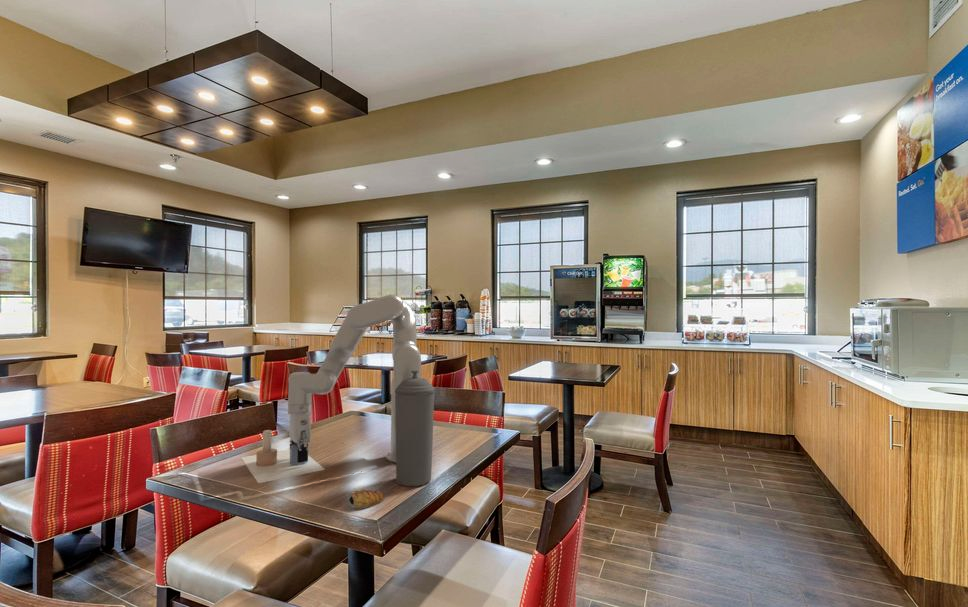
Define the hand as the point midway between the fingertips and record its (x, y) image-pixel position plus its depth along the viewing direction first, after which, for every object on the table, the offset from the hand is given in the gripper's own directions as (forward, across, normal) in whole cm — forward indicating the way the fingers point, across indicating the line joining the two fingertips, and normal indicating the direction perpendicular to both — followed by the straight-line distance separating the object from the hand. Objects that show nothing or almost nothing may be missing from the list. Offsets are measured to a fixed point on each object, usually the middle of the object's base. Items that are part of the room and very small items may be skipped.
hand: (298, 457), depth 153 cm
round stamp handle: (+2, +6, +9) cm, 11 cm away
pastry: (+3, -42, -6) cm, 43 cm away
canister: (+2, -36, -25) cm, 44 cm away
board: (+3, +3, +5) cm, 6 cm away
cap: (+2, 0, 0) cm, 2 cm away
